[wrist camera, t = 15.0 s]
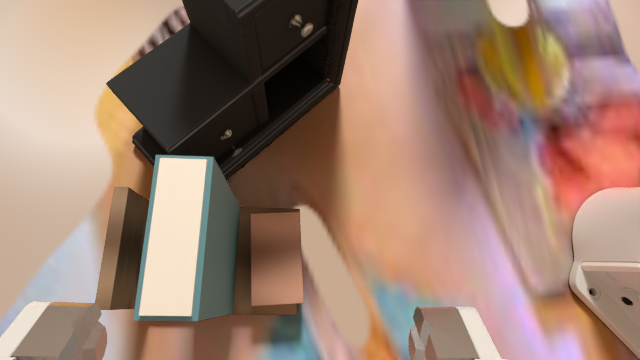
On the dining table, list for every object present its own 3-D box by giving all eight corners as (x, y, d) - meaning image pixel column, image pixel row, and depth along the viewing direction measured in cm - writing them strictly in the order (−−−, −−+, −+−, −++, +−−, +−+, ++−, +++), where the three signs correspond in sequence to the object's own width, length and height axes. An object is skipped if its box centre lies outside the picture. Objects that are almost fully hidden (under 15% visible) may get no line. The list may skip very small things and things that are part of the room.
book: (233, 313, 41) (197, 321, 25) (192, 313, 41) (131, 320, 25) (240, 206, 44) (212, 155, 28) (203, 206, 44) (154, 153, 28)
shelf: (302, 314, 42) (305, 318, 33) (139, 312, 41) (92, 316, 32) (304, 211, 46) (308, 187, 36) (153, 207, 45) (115, 181, 35)
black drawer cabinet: (192, 211, 45) (93, 120, 22) (132, 143, 47) (-15, -3, 24) (342, 86, 51) (382, -86, 28) (283, 30, 52) (277, -174, 30)
